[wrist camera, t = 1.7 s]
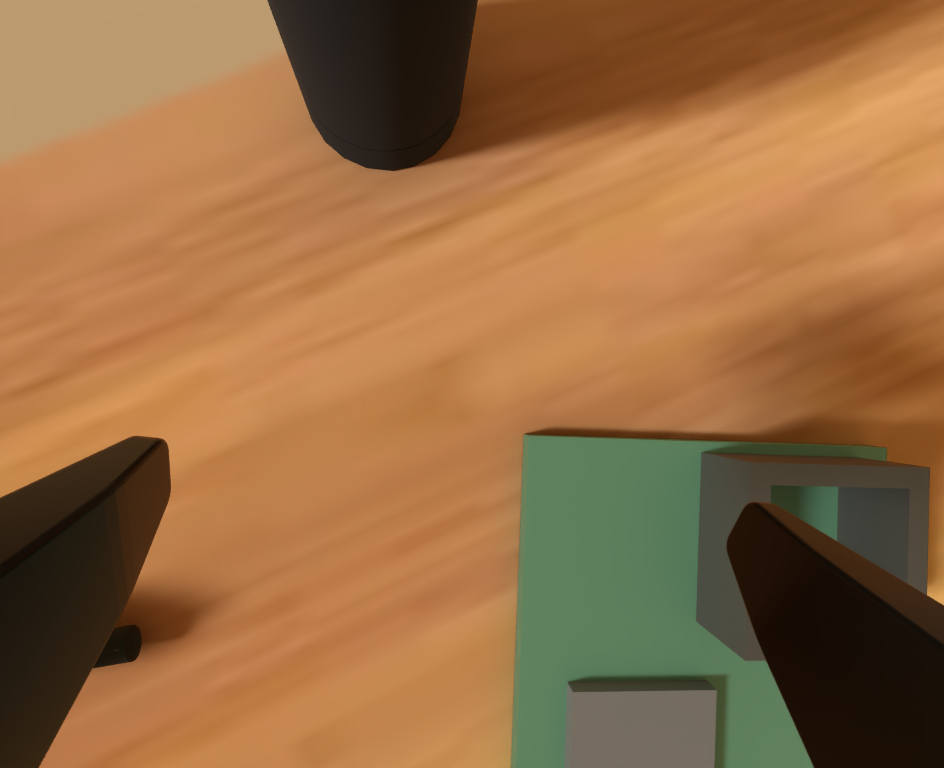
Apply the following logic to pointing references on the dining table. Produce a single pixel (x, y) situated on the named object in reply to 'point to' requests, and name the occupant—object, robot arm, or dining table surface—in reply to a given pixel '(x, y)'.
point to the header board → (675, 592)
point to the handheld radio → (120, 647)
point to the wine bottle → (379, 73)
